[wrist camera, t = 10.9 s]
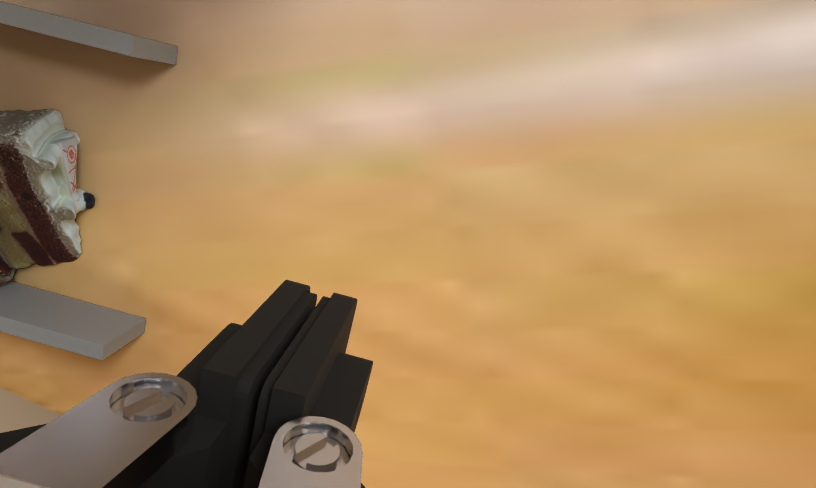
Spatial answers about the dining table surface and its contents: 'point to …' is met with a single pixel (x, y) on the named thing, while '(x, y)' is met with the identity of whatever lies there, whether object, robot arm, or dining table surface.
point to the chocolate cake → (38, 191)
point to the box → (50, 312)
